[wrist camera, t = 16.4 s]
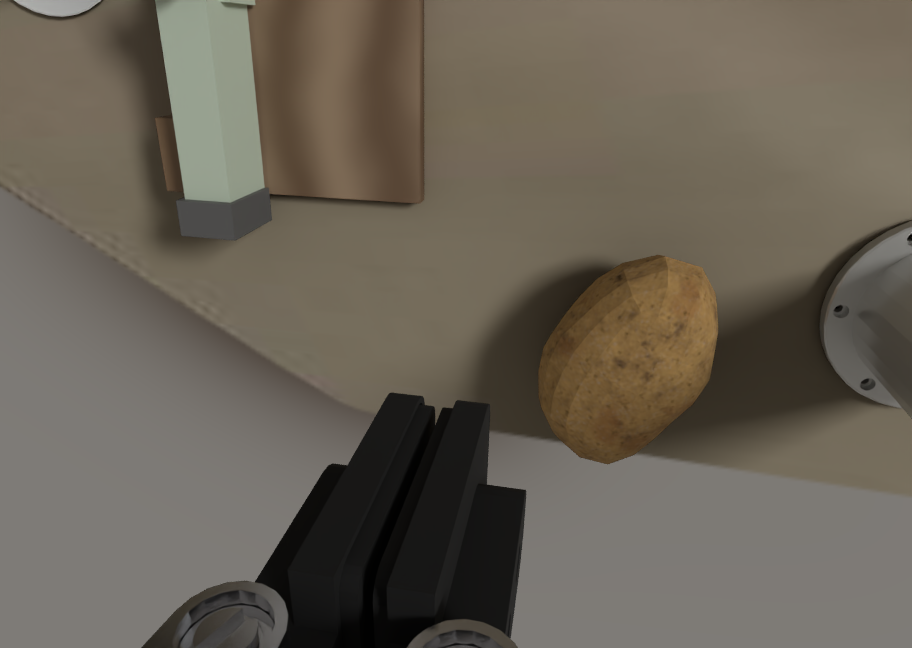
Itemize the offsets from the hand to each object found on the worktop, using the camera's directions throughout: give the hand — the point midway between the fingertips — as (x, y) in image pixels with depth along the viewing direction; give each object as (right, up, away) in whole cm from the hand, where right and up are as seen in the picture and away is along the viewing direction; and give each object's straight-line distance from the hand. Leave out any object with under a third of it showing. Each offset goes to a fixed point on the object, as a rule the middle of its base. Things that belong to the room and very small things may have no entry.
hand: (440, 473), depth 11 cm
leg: (-14, +17, +29) cm, 37 cm away
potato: (+12, +2, +32) cm, 35 cm away
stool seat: (-10, +19, +29) cm, 36 cm away
